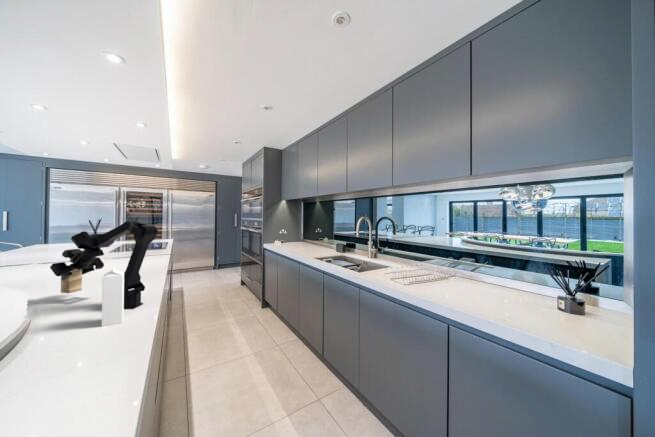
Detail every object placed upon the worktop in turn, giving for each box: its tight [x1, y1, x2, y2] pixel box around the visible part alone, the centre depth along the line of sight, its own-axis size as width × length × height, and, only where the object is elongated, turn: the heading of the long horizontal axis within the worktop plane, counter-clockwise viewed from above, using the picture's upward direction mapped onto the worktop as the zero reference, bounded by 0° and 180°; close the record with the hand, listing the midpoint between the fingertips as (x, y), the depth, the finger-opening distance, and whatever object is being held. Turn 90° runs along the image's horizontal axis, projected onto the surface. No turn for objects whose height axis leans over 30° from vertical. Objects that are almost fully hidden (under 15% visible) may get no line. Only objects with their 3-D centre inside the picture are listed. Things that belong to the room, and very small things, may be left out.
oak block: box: [60, 269, 83, 294], centre depth 115 cm, size 5×5×12 cm
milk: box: [101, 265, 125, 327], centre depth 94 cm, size 6×6×22 cm
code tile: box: [53, 296, 91, 306], centre depth 116 cm, size 10×9×1 cm
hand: (69, 277), depth 116 cm, fingers closed on oak block, 5 cm apart
